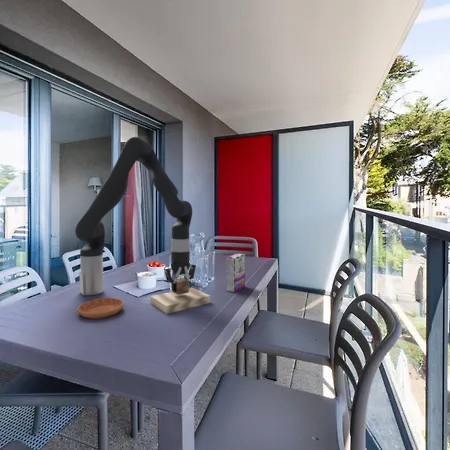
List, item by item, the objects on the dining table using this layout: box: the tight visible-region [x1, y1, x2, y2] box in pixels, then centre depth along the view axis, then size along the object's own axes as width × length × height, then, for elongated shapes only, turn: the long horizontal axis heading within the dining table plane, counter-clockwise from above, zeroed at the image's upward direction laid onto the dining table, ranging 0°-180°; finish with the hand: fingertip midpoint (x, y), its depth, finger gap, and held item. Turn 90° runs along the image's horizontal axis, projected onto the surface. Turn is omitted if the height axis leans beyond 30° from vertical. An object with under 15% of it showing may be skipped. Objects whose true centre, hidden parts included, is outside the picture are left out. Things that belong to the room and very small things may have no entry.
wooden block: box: [150, 287, 211, 315], centre depth 118 cm, size 20×14×3 cm
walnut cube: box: [171, 278, 190, 295], centre depth 118 cm, size 5×5×5 cm
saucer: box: [77, 297, 125, 320], centre depth 108 cm, size 16×16×3 cm
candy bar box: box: [225, 253, 246, 293], centre depth 139 cm, size 11×5×16 cm, turn 150°
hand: (180, 290), depth 118 cm, fingers closed on walnut cube, 5 cm apart
